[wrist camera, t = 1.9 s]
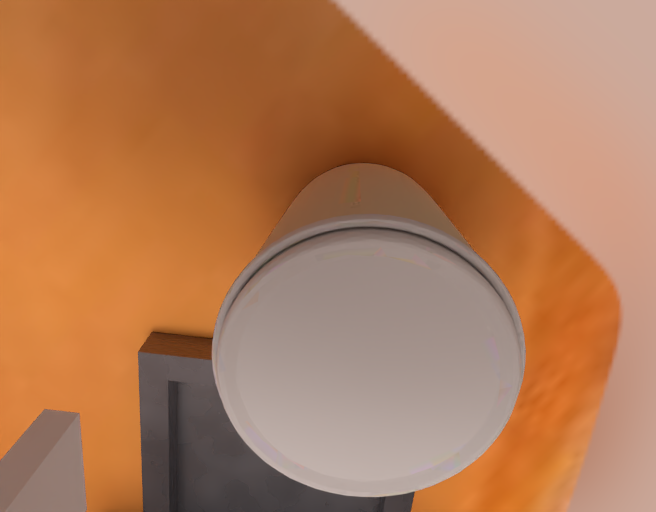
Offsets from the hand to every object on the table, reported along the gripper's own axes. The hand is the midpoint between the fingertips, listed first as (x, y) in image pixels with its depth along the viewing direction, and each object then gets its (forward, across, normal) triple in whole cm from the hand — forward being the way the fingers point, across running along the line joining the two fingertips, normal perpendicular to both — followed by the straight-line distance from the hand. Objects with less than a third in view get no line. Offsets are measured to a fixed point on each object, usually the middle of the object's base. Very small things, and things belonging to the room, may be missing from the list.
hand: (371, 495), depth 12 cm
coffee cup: (+16, 0, 0) cm, 16 cm away
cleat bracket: (+16, -3, -14) cm, 21 cm away
